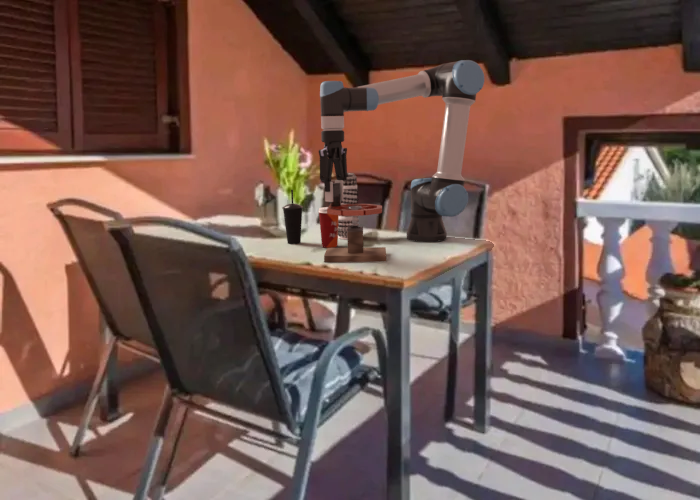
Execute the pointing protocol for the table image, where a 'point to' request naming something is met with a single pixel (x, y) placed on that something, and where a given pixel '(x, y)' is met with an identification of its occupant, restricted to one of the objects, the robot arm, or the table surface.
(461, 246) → the table surface
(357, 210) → the handwheel
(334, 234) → the paper cup
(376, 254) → the brown block
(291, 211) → the drinking cup
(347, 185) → the decorative candle
